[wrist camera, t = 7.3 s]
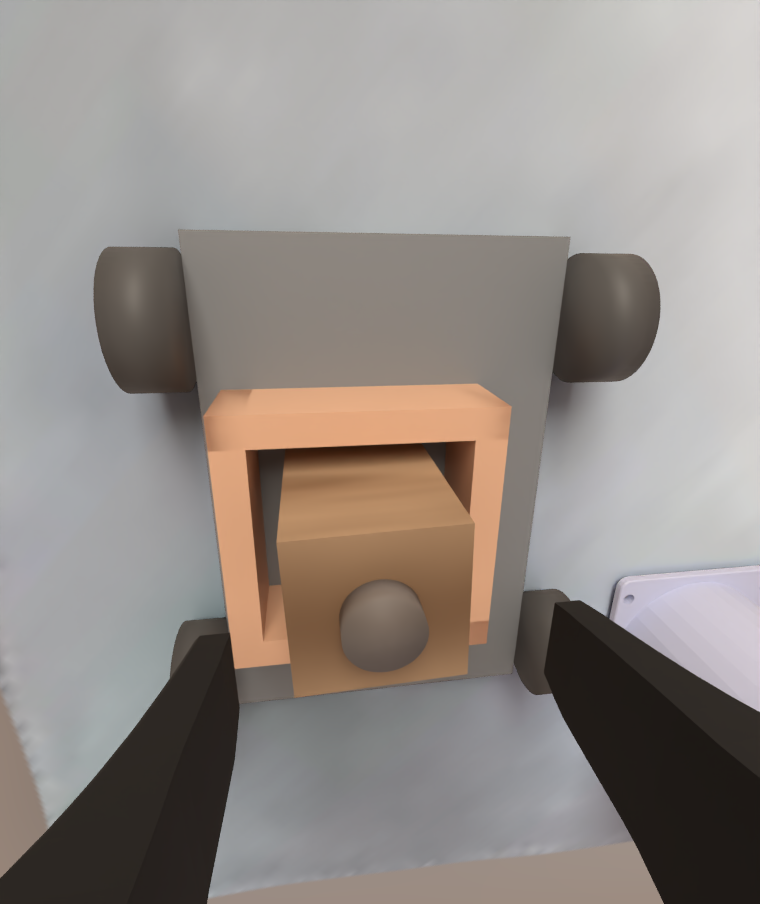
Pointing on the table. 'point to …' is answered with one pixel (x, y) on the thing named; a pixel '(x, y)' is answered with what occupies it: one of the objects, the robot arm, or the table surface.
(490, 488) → the chassis
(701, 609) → the robot arm
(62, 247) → the table surface
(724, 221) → the table surface
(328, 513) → the block
